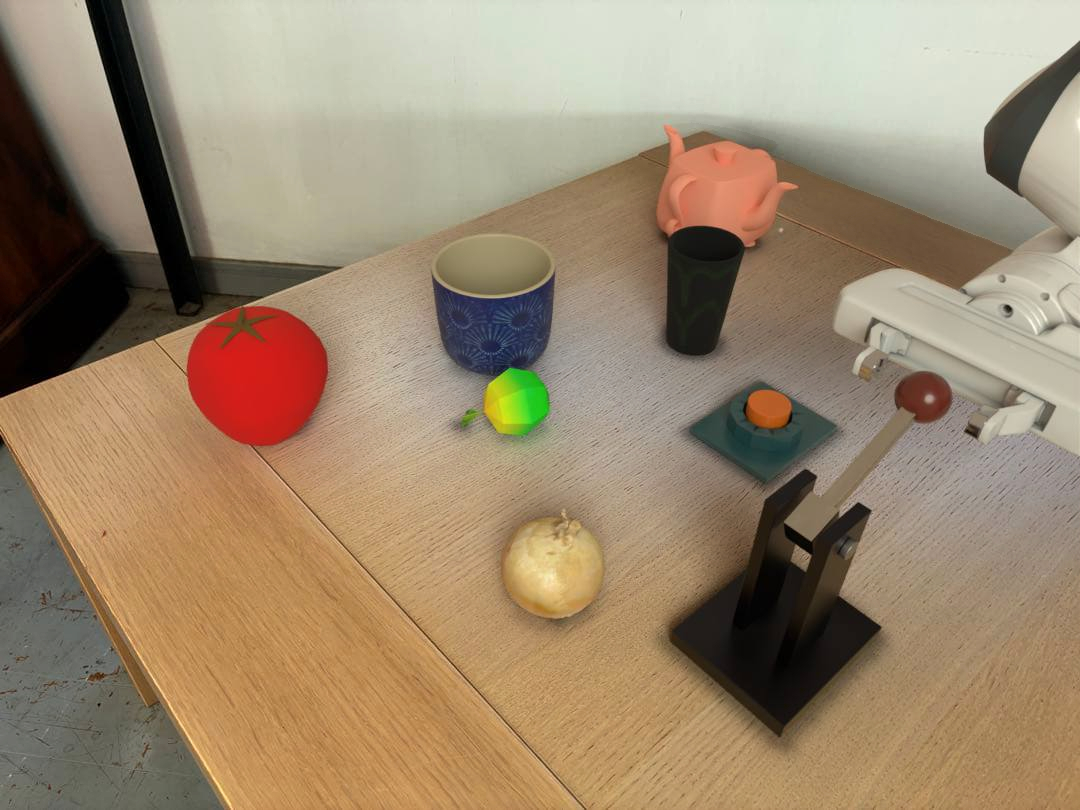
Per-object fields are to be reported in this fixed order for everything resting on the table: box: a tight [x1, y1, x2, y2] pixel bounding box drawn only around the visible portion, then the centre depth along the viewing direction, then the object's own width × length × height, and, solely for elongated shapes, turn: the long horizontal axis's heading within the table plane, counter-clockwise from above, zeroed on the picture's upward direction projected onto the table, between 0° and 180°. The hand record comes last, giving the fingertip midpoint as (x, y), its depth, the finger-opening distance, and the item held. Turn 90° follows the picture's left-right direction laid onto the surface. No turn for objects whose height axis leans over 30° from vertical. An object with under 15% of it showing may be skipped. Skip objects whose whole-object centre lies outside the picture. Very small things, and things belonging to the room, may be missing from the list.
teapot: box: [655, 124, 799, 248], centre depth 104 cm, size 15×17×13 cm
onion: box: [500, 508, 606, 620], centre depth 63 cm, size 8×8×7 cm
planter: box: [430, 232, 557, 376], centre depth 86 cm, size 12×12×11 cm
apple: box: [460, 368, 551, 437], centre depth 78 cm, size 7×6×9 cm
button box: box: [689, 380, 838, 485], centre depth 79 cm, size 11×9×2 cm
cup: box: [665, 226, 746, 357], centre depth 87 cm, size 8×8×12 cm
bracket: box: [669, 468, 883, 738], centre depth 57 cm, size 12×10×15 cm
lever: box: [783, 371, 954, 557], centre depth 55 cm, size 15×4×4 cm, turn 131°
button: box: [746, 390, 792, 429], centre depth 78 cm, size 4×4×2 cm
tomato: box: [186, 304, 329, 447], centre depth 76 cm, size 12×12×13 cm
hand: (917, 399), depth 55 cm, fingers open, 7 cm apart
